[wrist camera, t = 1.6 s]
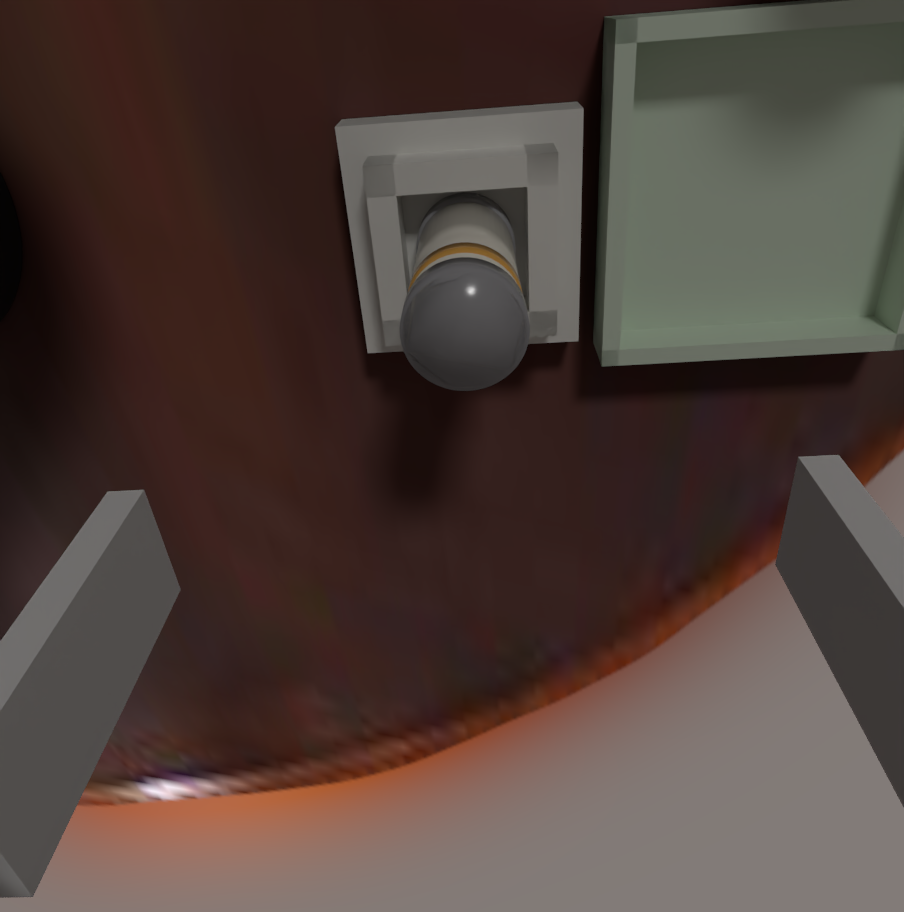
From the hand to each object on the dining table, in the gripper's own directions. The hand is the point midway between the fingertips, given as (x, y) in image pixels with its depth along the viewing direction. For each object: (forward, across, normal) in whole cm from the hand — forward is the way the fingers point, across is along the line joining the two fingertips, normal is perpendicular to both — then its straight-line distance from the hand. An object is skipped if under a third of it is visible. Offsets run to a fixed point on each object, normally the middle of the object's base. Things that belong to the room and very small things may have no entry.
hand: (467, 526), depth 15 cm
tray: (+22, +13, +1) cm, 26 cm away
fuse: (+20, 0, 0) cm, 20 cm away
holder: (+22, 0, 0) cm, 22 cm away
